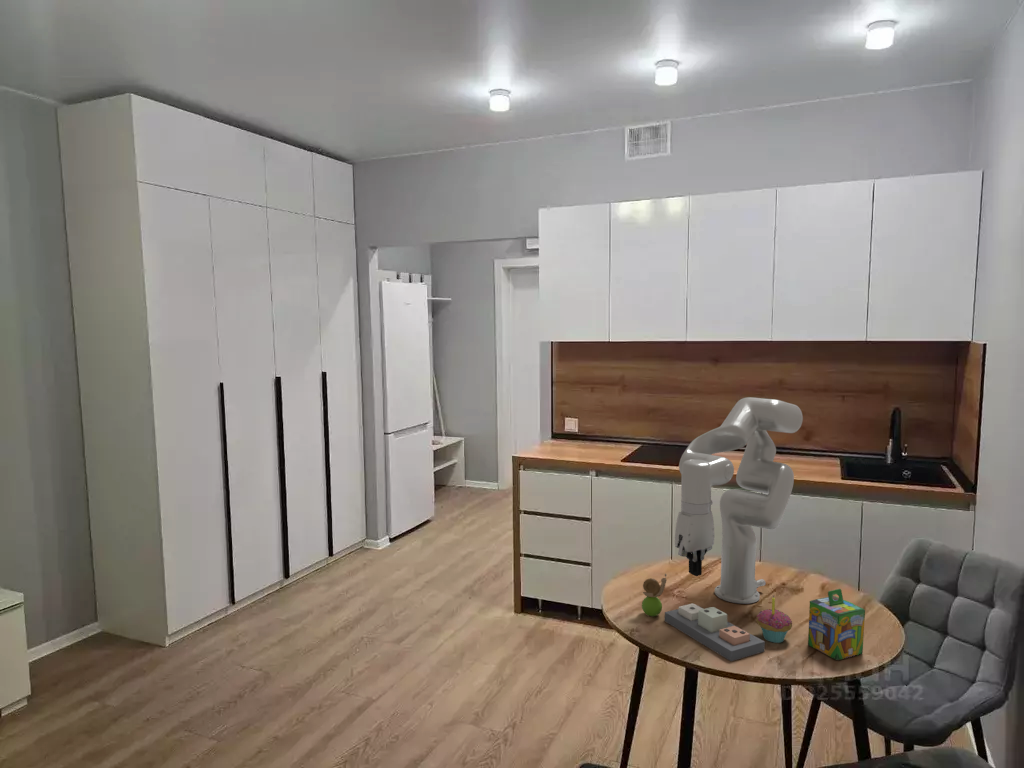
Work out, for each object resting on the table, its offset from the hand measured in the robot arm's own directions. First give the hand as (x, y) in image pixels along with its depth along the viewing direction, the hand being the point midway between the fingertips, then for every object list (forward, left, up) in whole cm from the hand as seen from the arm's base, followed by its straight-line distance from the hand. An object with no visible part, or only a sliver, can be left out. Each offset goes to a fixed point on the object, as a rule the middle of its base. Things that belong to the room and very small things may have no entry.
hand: (695, 573), depth 177 cm
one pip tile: (+1, 0, -13) cm, 13 cm away
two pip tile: (+1, +8, -11) cm, 14 cm away
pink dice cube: (+1, +15, -13) cm, 20 cm away
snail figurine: (+7, -8, -14) cm, 17 cm away
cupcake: (-12, +16, -14) cm, 24 cm away
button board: (+1, +8, -14) cm, 16 cm away
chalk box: (-21, +27, -14) cm, 37 cm away
